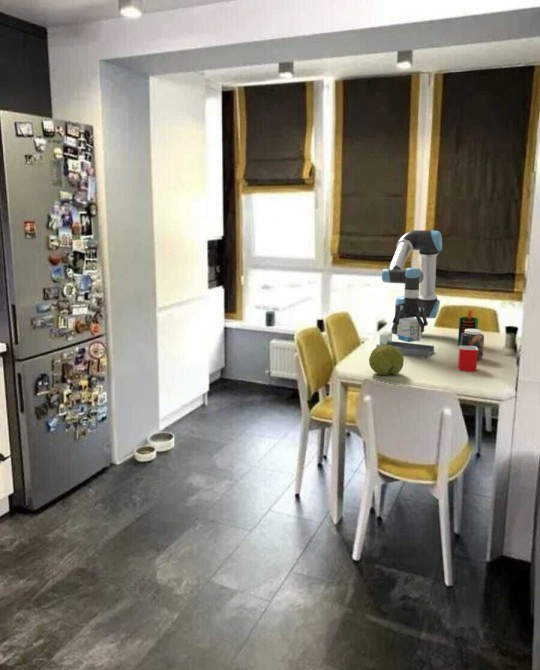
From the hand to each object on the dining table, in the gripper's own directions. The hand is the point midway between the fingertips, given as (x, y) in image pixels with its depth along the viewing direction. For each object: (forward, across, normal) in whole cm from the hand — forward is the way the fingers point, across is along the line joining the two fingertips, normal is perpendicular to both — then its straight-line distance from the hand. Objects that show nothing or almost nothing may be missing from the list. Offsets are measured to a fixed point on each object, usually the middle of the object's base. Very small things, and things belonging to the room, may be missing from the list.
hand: (409, 337), depth 312 cm
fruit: (+9, +3, -47) cm, 48 cm away
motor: (+9, +24, +35) cm, 43 cm away
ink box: (+2, 0, 0) cm, 2 cm away
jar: (+9, +32, +4) cm, 33 cm away
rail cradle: (+9, -2, 0) cm, 9 cm away
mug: (+9, +34, -17) cm, 39 cm away
